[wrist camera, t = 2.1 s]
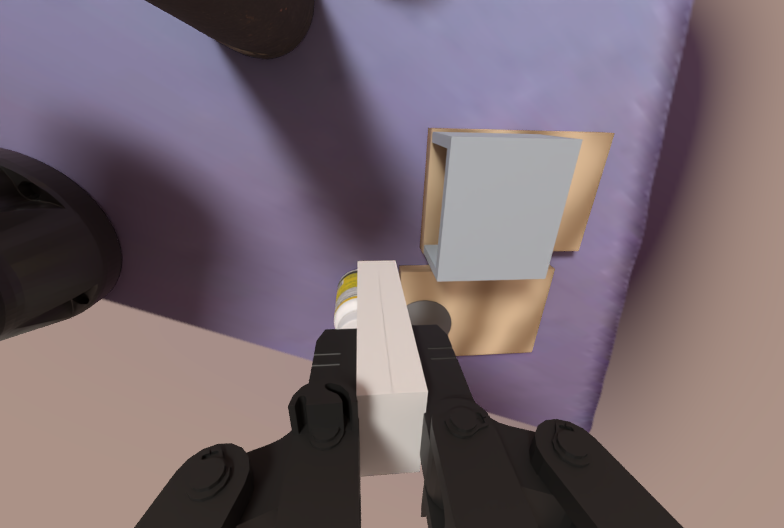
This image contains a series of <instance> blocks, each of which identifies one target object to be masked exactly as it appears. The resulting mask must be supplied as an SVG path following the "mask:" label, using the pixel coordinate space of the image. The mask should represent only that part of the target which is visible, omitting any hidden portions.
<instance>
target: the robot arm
mask: <svg viewBox="0 0 784 528" xmlns="http://www.w3.org/2000/svg"><path fill="white" fill-rule="evenodd" d="M121 260H122V259H121V250H120V245H119V242H118V239H117V236H116V233H115V231H114V229H113V227H112V225H111V223H110V222H109V220H108V218H107V217H106V215H105V214H104V212H103V211H102V210H101V209H100V207H99V206H98V205H97V204H96V203H95V201H94V200H93V199H92V198H91V197H90V196H89V195H88V194H87V193H86V192H85V191H84V190H82V189H81V188H80V187H79V186H78V185H77V184H75V183H74V182H73V181H71V180H70V179H69V178H67V177H66V176H64V175H63V174H62V173H60V172H58V171H57V170H55V169H53V168H52V167H50V166H48V165H46V164H44V163H42V162H40V161H38V160H36V159H34V158H31V157H29V156H26V155H24V154H21V153H18V152H15V151H11V150H8V149H3V148H0V341H1V340H5V339H8V338H11V337H14V336H17V335H20V334H23V333H26V332H29V331H32V330H35V329H38V328H42V327H45V326H48V325H51V324H54V323H57V322H60V321H63V320H66V319H69V318H71V317H74V316H76V315H78V314H80V313H82V312H84V311H85V310H86V309H88V308H90V307H91V306H92V305H94V304H95V303H96V302H98V301H99V300H101V299H102V298H103V297H105V296H106V295H107V294H108V293H109V292H110V291H111V290H112V288H113V287H114V285H115V284H116V282H117V280H118V277H119V275H120V271H121ZM288 409H289V416H290V421H291V427H292V431H291V432H290V433H288V434H287V435H285V436H284V437H283V438H281V439H280V440H278V441H276V442H273V443H271V444H269V445H266V446H264V447H261V448H258V449H255V450H253V451H250V452H247V453H246V452H245V451H244V450H243V448H242V447H239V446H237V445H234V444H232V443H231V444H216V445H214V446H211V447H208V448H205V449H203V450H201V451H200V452H198V453H197V454H195V455H193V456H192V457H191V458H189V459H188V460H187V461H186V462H185V463H184V464H183V465H182V466H181V467H180V468H179V469H178V470H177V471H176V473H175V474H174V475H173V476H172V478H171V479H170V480H169V482H168V483H167V485H166V486H165V487H164V488H163V490H162V491H161V493H160V494H159V495H158V497H157V498H156V499H155V500H154V502H153V503H152V505H151V506H150V507H149V509H148V510H147V511H146V513H145V514H144V515H143V517H142V518H141V519H140V521H139V522H138V523H137V525H136V526H135V527H134V528H361V496H360V477H362V476H374V475H387V474H399V473H411V472H420V464H421V465H422V470H423V476H424V488H423V497H422V506H421V517H427V523H428V528H683V527H682V526H681V525H680V524H679V523H678V522H677V521H676V520H675V519H674V518H673V517H672V516H671V515H670V514H669V513H668V512H667V510H666V509H665V508H663V507H662V505H661V504H660V503H659V502H657V500H656V499H655V498H654V497H653V496H651V494H650V493H649V492H648V491H647V490H646V489H645V488H644V487H643V486H642V485H641V484H640V483H639V482H638V481H637V480H636V479H635V478H634V477H633V476H632V475H631V474H630V473H629V472H628V471H627V470H626V469H625V468H624V467H623V466H622V465H621V464H620V463H619V462H618V461H617V460H616V459H615V458H614V457H613V456H612V455H611V454H610V453H609V452H608V451H607V450H606V449H605V448H604V447H603V446H602V445H601V444H600V443H599V442H598V441H597V440H596V439H595V438H594V437H593V436H592V435H590V434H589V433H588V432H587V431H585V430H584V429H583V428H581V427H579V426H577V425H575V424H573V423H571V422H568V421H563V420H559V419H553V420H545V421H544V422H543V423H541V424H540V425H538V427H537V430H536V432H533V431H529V430H524V429H519V428H516V427H511V426H508V425H505V424H502V423H498V422H497V421H495V420H493V419H491V418H490V416H488V413H487V412H486V411H485V410H484V409H483V408H481V407H480V406H479V405H478V404H476V403H475V401H474V399H473V397H472V395H471V392H470V390H469V387H468V385H467V382H466V380H465V377H464V375H463V372H462V370H461V367H460V365H459V362H458V360H457V359H456V355H455V352H454V350H453V349H452V345H451V342H450V340H449V337H448V335H447V334H446V333H445V332H444V331H443V330H442V329H441V328H440V327H439V326H438V325H437V324H435V325H411V321H410V317H409V313H408V309H407V305H406V301H405V297H404V293H403V289H402V285H401V281H400V277H399V273H398V269H397V265H396V261H358V269H357V328H355V329H328V330H325V331H324V332H323V333H322V335H321V336H320V337H319V338H318V340H317V342H316V347H315V352H314V358H313V363H312V369H311V374H310V379H309V383H308V384H306V385H304V386H303V387H301V388H300V389H299V390H298V391H297V392H296V393H295V394H294V395H293V397H292V399H291V401H290V403H289V405H288Z"/></svg>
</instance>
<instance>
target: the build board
mask: <svg viewBox="0 0 784 528" xmlns="http://www.w3.org/2000/svg"><path fill="white" fill-rule="evenodd" d="M554 270H555V269H554V268H553V267H552V266H551V265H549V267H548V271H547V275H546V278H545V279H521V280H481V281H442V282H437V280H436V278H435V276H434V274H433V272H432V270H431V268H430V266H429V265H408V266H399V277H400V281H401V285H402V289H403V293H404V297H405V301H406V305H407V309H408V313H409V317H410V321H411V325H435V324H437V325H438V326H439V327H440V328H441V329H442V330H443V331H444V332H445V333H446V334H447V335H448V337H449V340H450V342H451V345H452V349H453V350H454V352H455V355H456V356H464V355H484V354H504V353H524V352H532V349H533V346H534V342H535V338H536V335H537V331H538V328H539V324H540V321H541V317H542V313H543V310H544V306H545V303H546V299H547V295H548V292H549V288H550V285H551V281H552V278H553V274H554Z"/></svg>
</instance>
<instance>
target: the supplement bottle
mask: <svg viewBox="0 0 784 528" xmlns="http://www.w3.org/2000/svg"><path fill="white" fill-rule="evenodd" d="M334 326H335V329H355V328H357V269H356V270H352V271H350V272H348V273H346V274H345V275H344V276H343V277H342V278H341V280H340V281H339V284H338V289H337V297H336V306H335V314H334Z"/></svg>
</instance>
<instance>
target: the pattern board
mask: <svg viewBox="0 0 784 528" xmlns="http://www.w3.org/2000/svg"><path fill="white" fill-rule="evenodd" d="M433 132H468V133H511V134H542V135H550V136H558V137H567V138H575V139H583V140H582V144H581V148H580V152H579V155H578V159H577V163H576V167H575V170H574V174H573V178H572V181H571V185H570V189H569V193H568V196H567V200H566V204H565V208H564V211H563V215H562V219H561V222H560V226H559V230H558V234H557V237H556V241H555V245H554V248H553V251H579V247H580V244H581V241H582V238H583V234H584V231H585V228H586V225H587V221H588V218H589V215H590V212H591V208H592V205H593V202H594V199H595V195H596V192H597V189H598V186H599V182H600V179H601V176H602V172H603V169H604V166H605V163H606V159H607V156H608V153H609V150H610V146H611V143H612V140H613V137H614V133H605V132H571V131H530V130H490V129H449V128H428V138H427V153H426V167H425V182H424V196H423V210H422V225H421V239H420V249H421V251H422V253H423V252H424V245H438V239H439V229H440V218H441V208H442V198H443V187H444V177H445V166H446V156H447V148H445V147H442V146H440V145H437V144H435V143H432V133H433Z"/></svg>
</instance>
